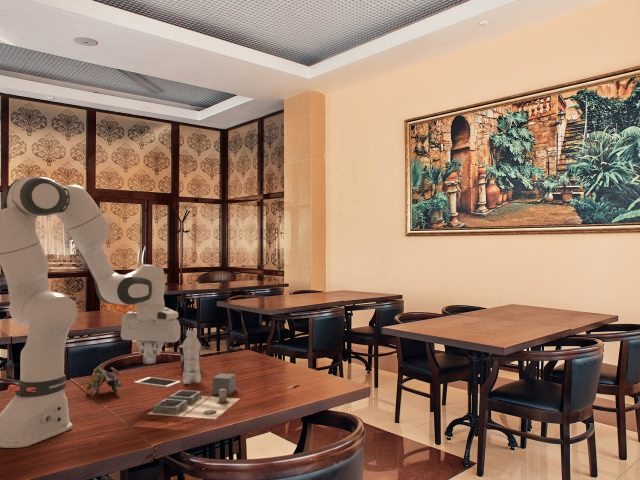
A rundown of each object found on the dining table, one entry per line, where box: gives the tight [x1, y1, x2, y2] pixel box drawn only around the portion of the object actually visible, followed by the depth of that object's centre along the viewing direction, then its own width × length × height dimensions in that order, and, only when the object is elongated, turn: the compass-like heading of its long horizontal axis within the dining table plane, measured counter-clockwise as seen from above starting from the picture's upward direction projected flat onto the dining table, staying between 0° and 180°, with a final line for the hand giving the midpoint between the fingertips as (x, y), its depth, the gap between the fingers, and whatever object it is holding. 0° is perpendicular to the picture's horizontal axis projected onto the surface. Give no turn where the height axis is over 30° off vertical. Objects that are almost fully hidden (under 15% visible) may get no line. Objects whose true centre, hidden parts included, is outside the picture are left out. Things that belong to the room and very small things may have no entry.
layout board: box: [147, 389, 241, 420], centre depth 160 cm, size 20×22×6 cm
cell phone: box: [134, 376, 181, 388], centre depth 194 cm, size 8×16×1 cm, turn 67°
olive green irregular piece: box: [80, 366, 122, 398], centre depth 178 cm, size 11×11×12 cm
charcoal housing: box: [212, 372, 237, 396], centre depth 175 cm, size 6×6×7 cm
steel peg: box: [142, 341, 157, 365], centre depth 170 cm, size 4×4×7 cm
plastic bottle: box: [181, 329, 202, 385], centre depth 191 cm, size 6×7×20 cm
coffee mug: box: [179, 344, 201, 372], centre depth 211 cm, size 12×9×10 cm
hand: (149, 354), depth 170 cm, fingers closed on steel peg, 4 cm apart
